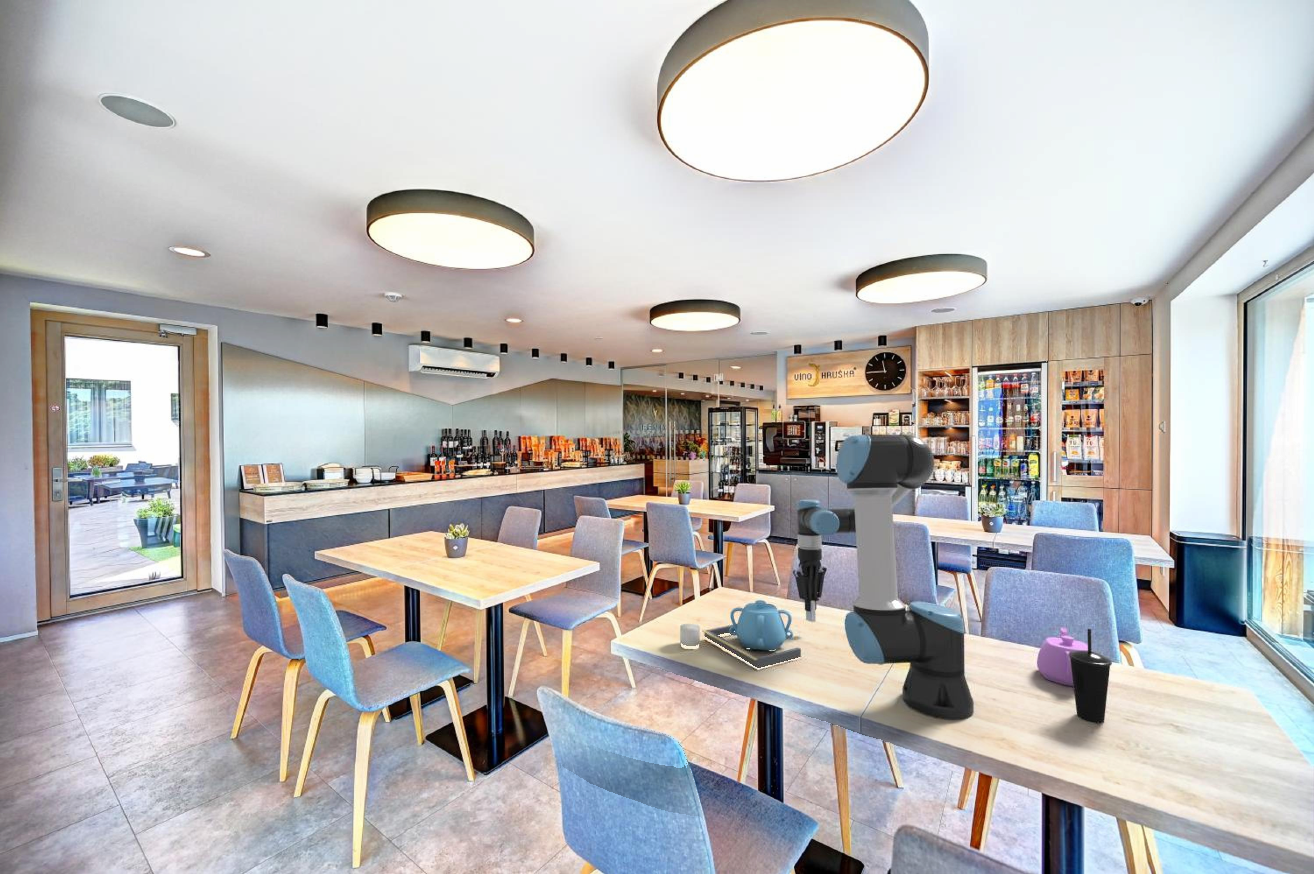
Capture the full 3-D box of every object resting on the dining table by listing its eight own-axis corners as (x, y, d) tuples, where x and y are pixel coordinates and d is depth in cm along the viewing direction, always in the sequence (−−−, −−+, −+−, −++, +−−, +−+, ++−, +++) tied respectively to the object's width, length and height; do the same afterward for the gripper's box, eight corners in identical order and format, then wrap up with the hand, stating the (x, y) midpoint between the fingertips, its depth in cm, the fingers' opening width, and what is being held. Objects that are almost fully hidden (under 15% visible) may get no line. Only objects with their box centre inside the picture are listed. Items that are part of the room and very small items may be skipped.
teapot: (1093, 669, 148) (1092, 629, 148) (1107, 699, 130) (1107, 653, 131) (1033, 659, 154) (1033, 621, 155) (1040, 687, 137) (1039, 643, 137)
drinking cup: (1115, 730, 117) (1114, 637, 117) (1071, 720, 121) (1070, 631, 121) (1109, 715, 123) (1108, 627, 123) (1067, 706, 127) (1066, 621, 127)
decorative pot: (799, 649, 163) (799, 604, 163) (756, 659, 156) (756, 612, 156) (765, 632, 178) (765, 591, 178) (724, 641, 171) (724, 597, 171)
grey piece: (800, 659, 156) (800, 647, 156) (755, 671, 148) (755, 659, 148) (744, 631, 179) (744, 621, 179) (702, 640, 171) (702, 630, 171)
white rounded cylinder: (703, 647, 165) (703, 628, 165) (686, 651, 162) (686, 631, 162) (691, 640, 171) (691, 621, 171) (675, 644, 168) (675, 625, 168)
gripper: (815, 544, 182) (816, 614, 181) (786, 547, 176) (787, 620, 175) (832, 547, 175) (834, 620, 175) (802, 551, 169) (804, 627, 169)
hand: (810, 620), depth 175 cm, fingers closed
